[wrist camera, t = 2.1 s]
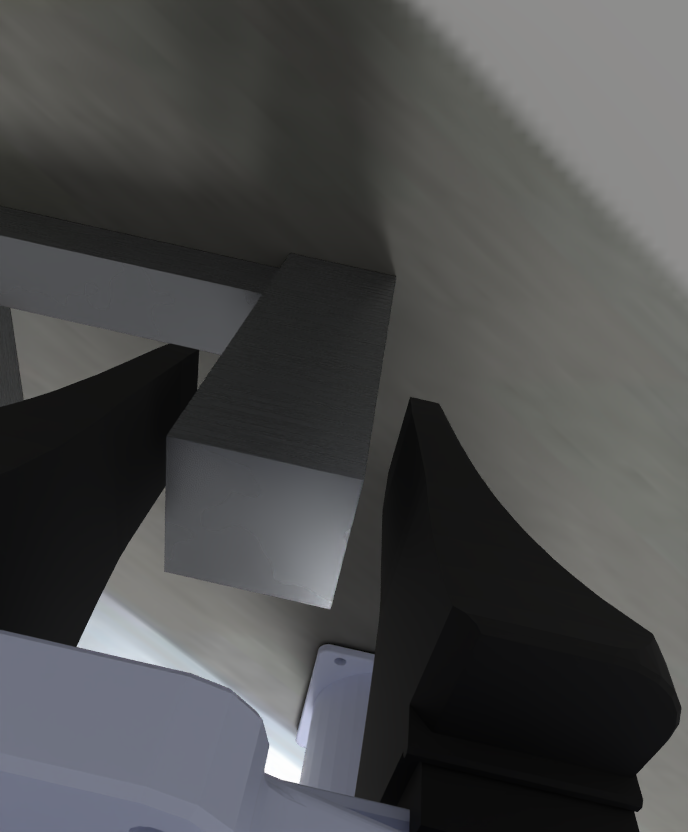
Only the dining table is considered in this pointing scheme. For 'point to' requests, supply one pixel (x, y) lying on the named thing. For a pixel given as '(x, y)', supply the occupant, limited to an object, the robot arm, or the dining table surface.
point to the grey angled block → (229, 389)
